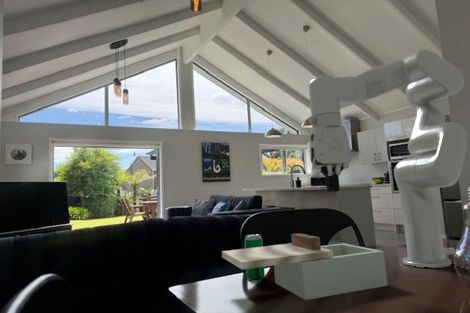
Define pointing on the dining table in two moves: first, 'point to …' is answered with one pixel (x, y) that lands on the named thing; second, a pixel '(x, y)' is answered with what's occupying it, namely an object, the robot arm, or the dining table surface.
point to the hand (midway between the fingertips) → (333, 191)
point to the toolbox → (334, 272)
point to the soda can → (253, 242)
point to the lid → (279, 253)
